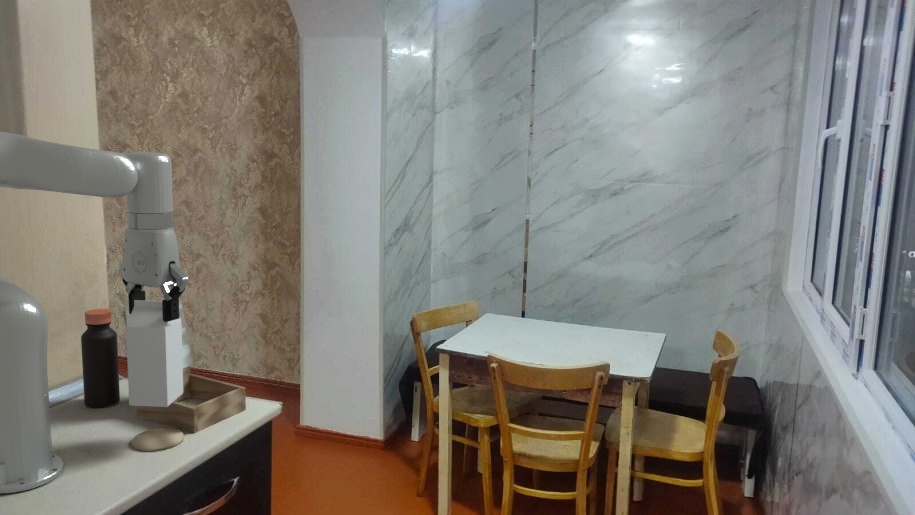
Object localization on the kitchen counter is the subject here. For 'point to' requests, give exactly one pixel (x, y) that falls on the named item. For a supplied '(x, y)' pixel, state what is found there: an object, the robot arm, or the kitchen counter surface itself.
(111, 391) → the bottle
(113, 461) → the kitchen counter surface
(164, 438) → the coaster
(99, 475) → the kitchen counter surface
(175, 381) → the milk carton
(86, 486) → the kitchen counter surface
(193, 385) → the box
